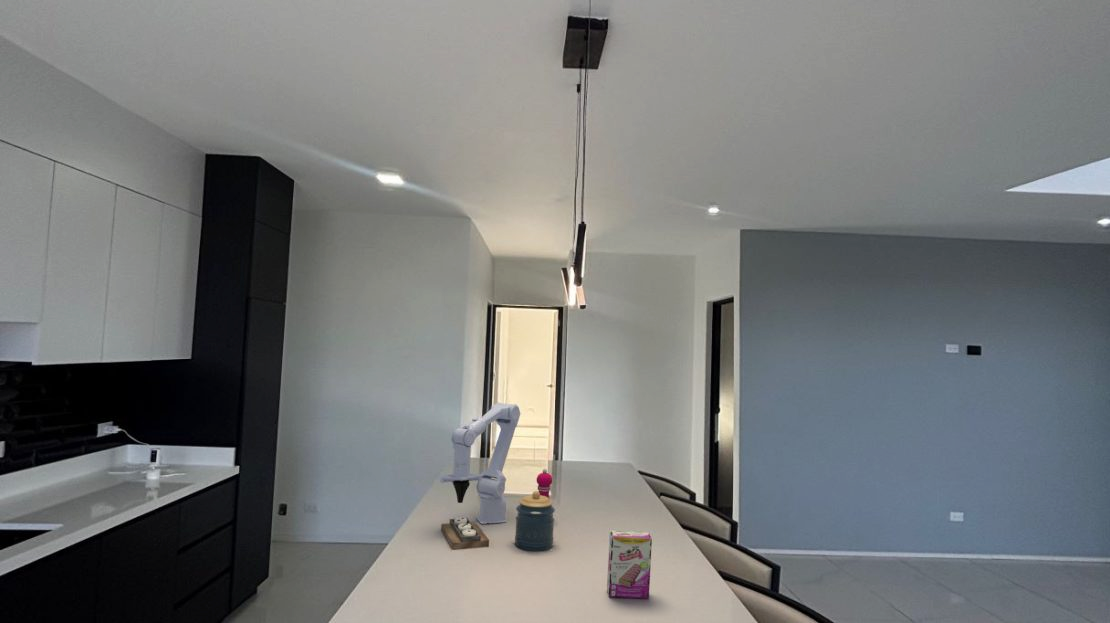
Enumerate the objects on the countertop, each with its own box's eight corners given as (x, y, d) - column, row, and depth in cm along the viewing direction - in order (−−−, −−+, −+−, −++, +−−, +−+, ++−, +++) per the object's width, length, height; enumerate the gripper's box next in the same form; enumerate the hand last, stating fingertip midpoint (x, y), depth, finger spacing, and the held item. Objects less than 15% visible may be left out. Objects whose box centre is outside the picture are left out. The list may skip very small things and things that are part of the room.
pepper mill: (552, 520, 218) (555, 467, 219) (551, 526, 211) (553, 471, 212) (534, 518, 219) (536, 466, 220) (531, 524, 212) (534, 470, 213)
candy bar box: (608, 598, 153) (611, 536, 154) (606, 590, 158) (608, 530, 159) (650, 600, 153) (652, 537, 154) (646, 591, 158) (648, 531, 159)
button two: (465, 522, 204) (465, 516, 204) (467, 526, 200) (468, 520, 200) (452, 523, 202) (453, 517, 202) (455, 527, 198) (455, 521, 198)
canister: (548, 553, 184) (551, 498, 185) (509, 548, 186) (512, 494, 187) (556, 540, 196) (559, 488, 197) (520, 536, 199) (522, 484, 200)
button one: (473, 534, 192) (474, 528, 192) (476, 539, 188) (477, 532, 188) (460, 535, 190) (461, 529, 190) (463, 540, 186) (464, 533, 186)
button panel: (474, 527, 206) (474, 517, 206) (488, 546, 188) (489, 535, 188) (441, 529, 202) (441, 519, 202) (452, 549, 183) (453, 538, 183)
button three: (469, 528, 198) (469, 522, 198) (472, 532, 194) (472, 526, 194) (456, 529, 196) (457, 523, 196) (459, 533, 192) (459, 527, 192)
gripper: (443, 466, 195) (441, 506, 194) (484, 464, 200) (483, 503, 200) (439, 462, 201) (437, 501, 201) (479, 460, 207) (477, 498, 206)
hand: (459, 502), depth 201 cm, fingers closed
